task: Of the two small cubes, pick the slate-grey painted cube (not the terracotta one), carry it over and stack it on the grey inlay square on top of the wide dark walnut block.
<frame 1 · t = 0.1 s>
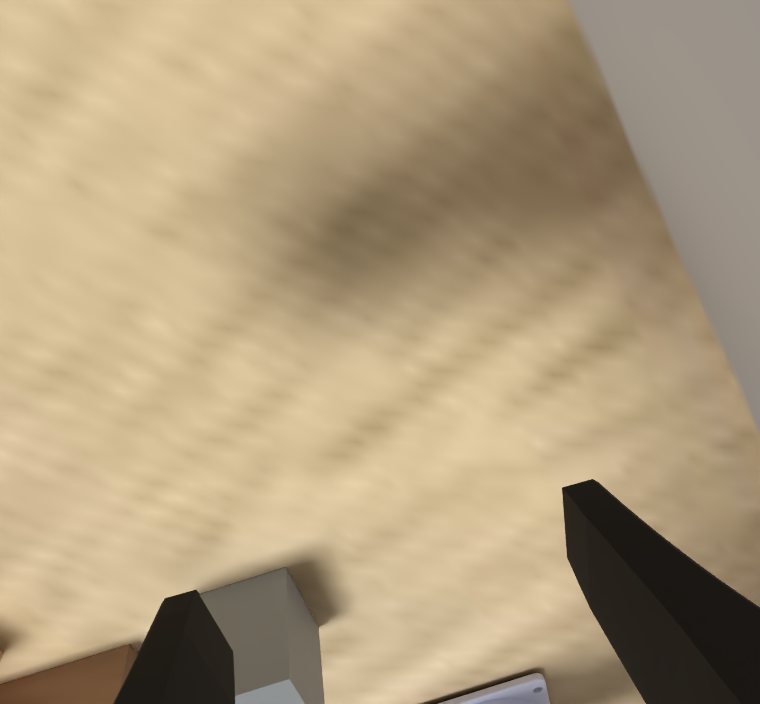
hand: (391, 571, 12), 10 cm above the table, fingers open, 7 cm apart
slate cube: (254, 612, 27), on the table
walnut block: (95, 700, 29), on the table
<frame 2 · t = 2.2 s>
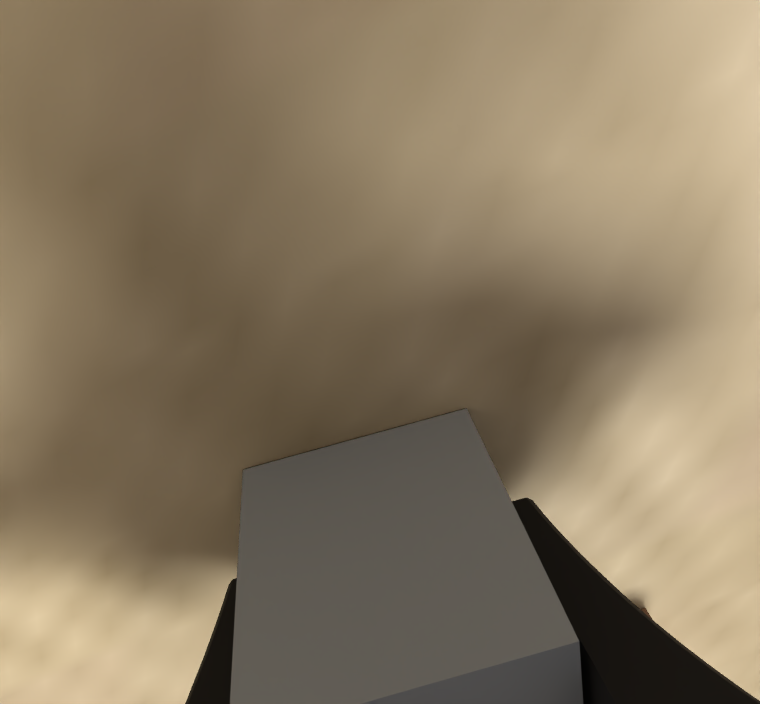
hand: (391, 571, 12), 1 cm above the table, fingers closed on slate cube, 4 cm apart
slate cube: (379, 517, 13), on the table, touching gripper
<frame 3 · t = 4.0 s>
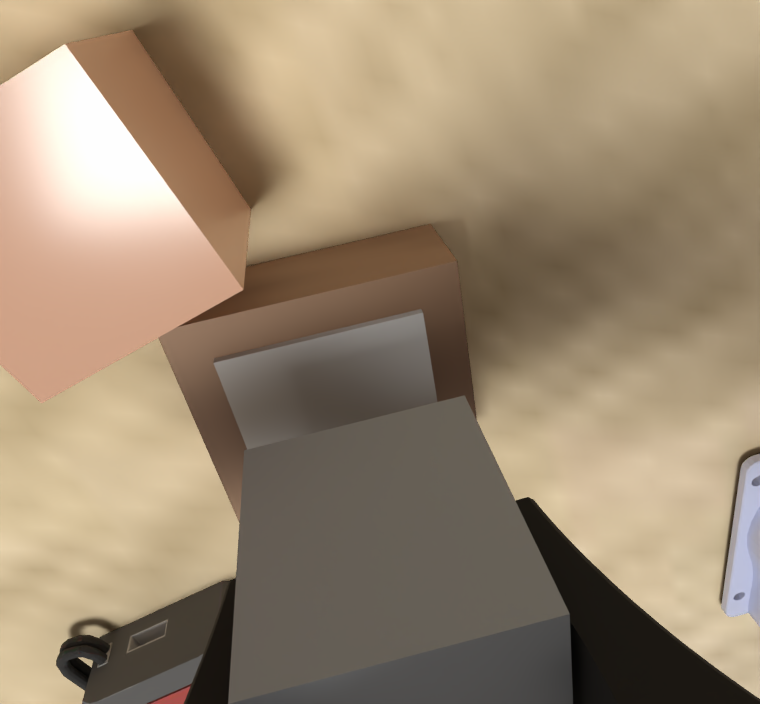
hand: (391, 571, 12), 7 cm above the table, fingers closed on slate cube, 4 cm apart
terracotta cube: (116, 174, 14), on the table
slate cube: (376, 502, 13), point 6 cm above the table, touching gripper
walnut block: (330, 357, 18), on the table
when the fingers open (6 cm above the table, at t = 4.7 s): slate cube drops 1 cm, point 3 cm above the table.
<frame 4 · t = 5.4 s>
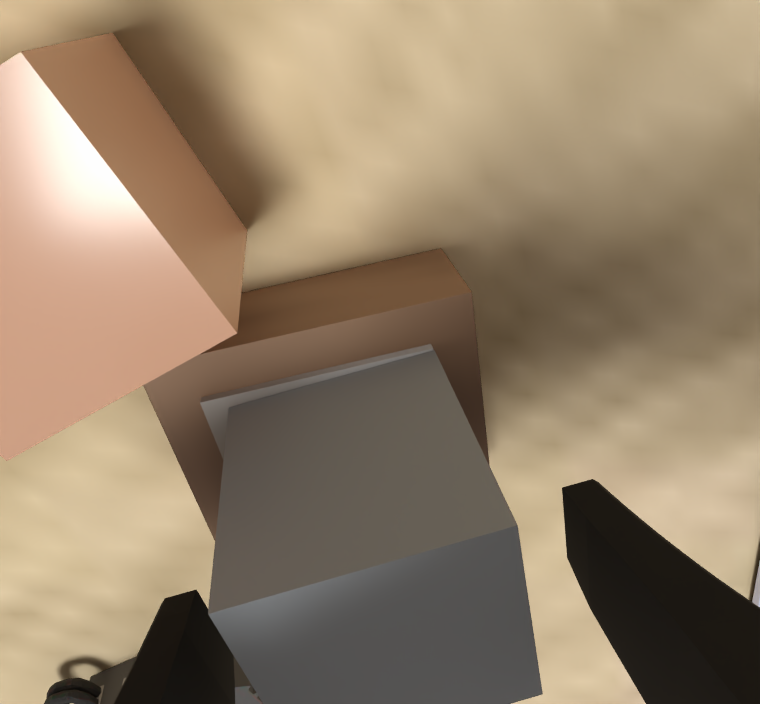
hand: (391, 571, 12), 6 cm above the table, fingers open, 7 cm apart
terracotta cube: (97, 193, 13), on the table
slate cube: (357, 456, 14), point 3 cm above the table
walnut block: (329, 388, 17), on the table
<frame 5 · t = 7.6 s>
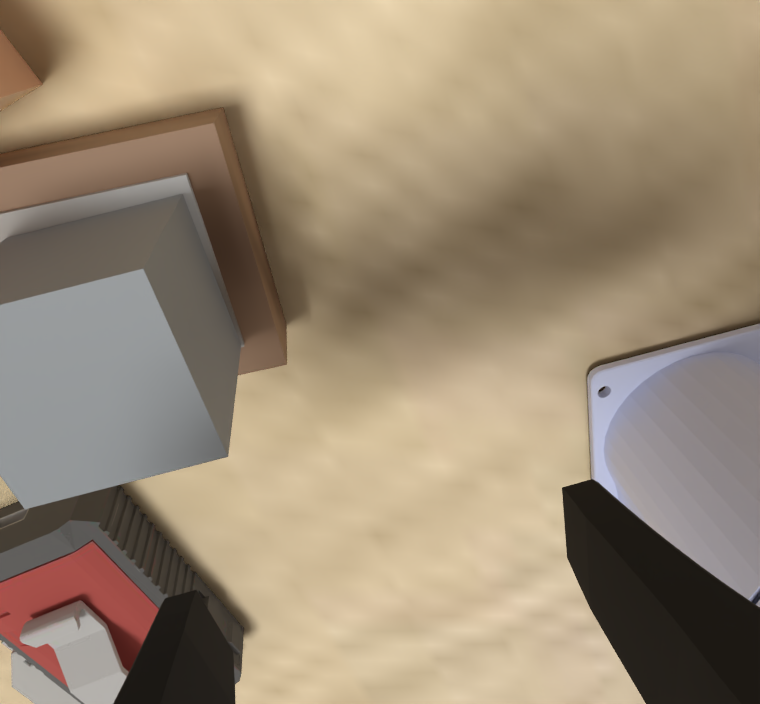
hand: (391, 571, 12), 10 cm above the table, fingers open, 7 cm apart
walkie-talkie: (140, 623, 27), on the table
slate cube: (132, 295, 16), point 3 cm above the table
walnut block: (148, 246, 19), on the table
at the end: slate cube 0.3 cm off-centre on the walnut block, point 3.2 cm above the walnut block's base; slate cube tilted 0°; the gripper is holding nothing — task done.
